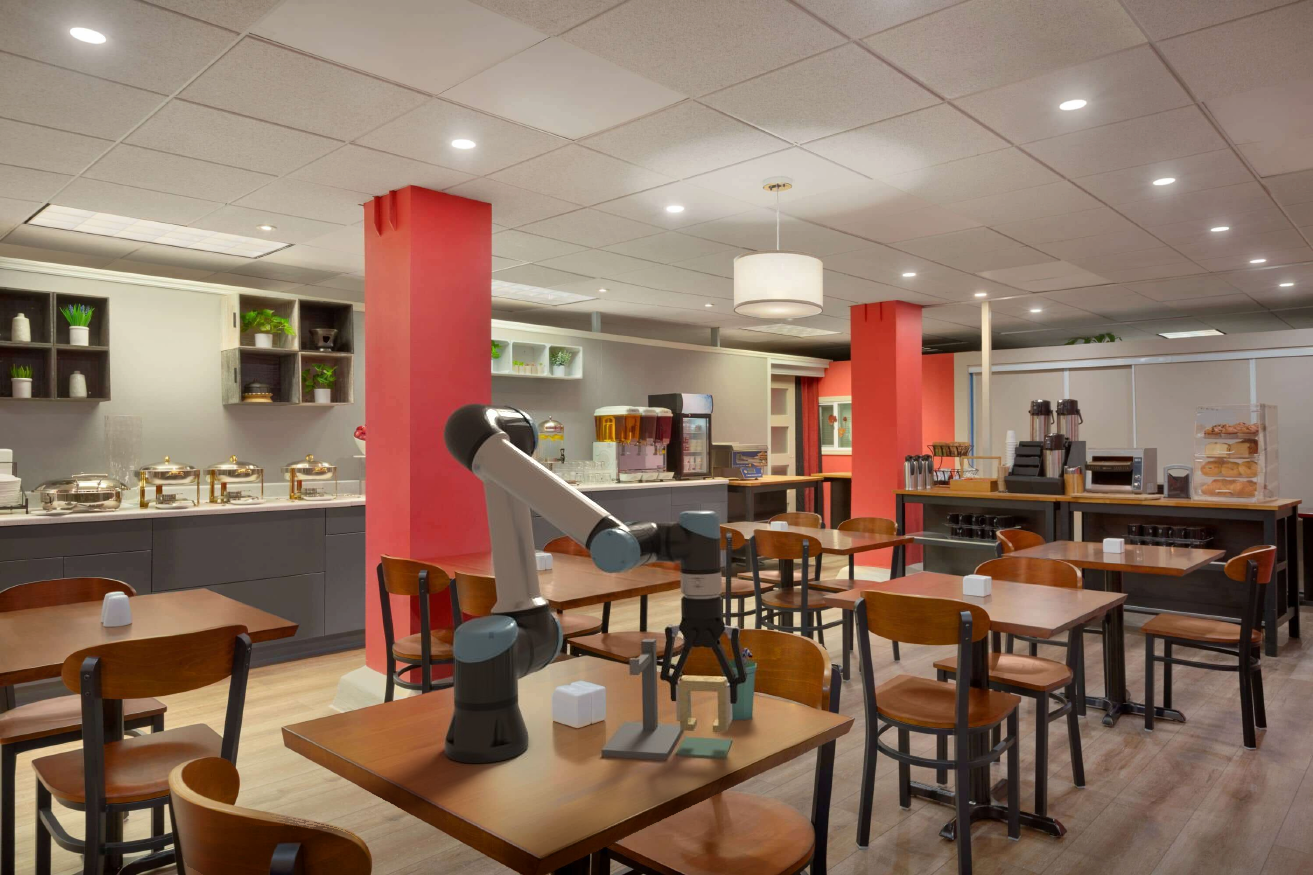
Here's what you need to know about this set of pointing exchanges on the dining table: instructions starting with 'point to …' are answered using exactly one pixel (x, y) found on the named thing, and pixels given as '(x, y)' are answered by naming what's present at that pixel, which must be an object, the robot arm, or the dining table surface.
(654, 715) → the stand
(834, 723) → the dining table surface
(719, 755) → the mat
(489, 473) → the robot arm
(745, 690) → the cup
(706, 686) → the c link
